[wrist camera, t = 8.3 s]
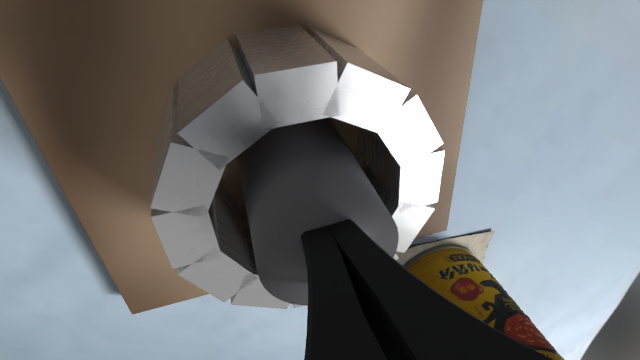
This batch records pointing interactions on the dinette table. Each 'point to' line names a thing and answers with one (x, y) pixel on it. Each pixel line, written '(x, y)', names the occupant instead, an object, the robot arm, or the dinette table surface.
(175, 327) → the dinette table surface
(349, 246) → the robot arm
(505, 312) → the condiment
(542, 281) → the dinette table surface
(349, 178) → the dark rounded capsule
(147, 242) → the walnut board
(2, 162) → the dinette table surface
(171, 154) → the white faceted ring
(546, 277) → the dinette table surface
